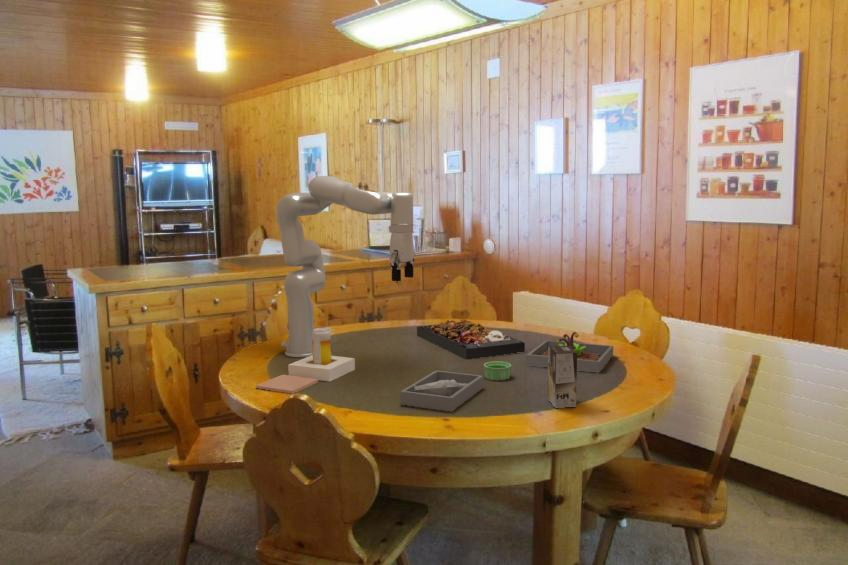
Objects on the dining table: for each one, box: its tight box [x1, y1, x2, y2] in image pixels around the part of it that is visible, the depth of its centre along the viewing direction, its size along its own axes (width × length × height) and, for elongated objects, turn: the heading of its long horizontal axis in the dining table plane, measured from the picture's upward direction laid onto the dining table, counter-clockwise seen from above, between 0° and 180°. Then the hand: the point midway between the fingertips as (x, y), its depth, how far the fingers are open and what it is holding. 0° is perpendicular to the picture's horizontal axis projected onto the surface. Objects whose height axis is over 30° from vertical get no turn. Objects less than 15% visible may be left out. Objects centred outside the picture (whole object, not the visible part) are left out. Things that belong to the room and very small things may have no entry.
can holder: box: [287, 355, 356, 382], centre depth 238 cm, size 16×16×4 cm
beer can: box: [312, 327, 332, 365], centre depth 238 cm, size 6×6×15 cm
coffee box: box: [547, 346, 578, 409], centre depth 202 cm, size 9×6×16 cm
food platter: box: [416, 318, 526, 360], centre depth 280 cm, size 45×25×10 cm, turn 24°
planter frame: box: [525, 339, 614, 374], centre depth 251 cm, size 25×25×4 cm
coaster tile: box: [255, 374, 319, 395], centre depth 224 cm, size 14×14×1 cm
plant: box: [541, 331, 601, 361], centre depth 250 cm, size 20×20×11 cm
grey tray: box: [399, 370, 484, 413], centre depth 211 cm, size 16×25×4 cm, turn 155°
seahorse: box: [412, 380, 467, 397], centre depth 211 cm, size 5×12×20 cm
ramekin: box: [483, 360, 512, 382], centre depth 231 cm, size 9×9×4 cm
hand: (402, 279), depth 242 cm, fingers open, 9 cm apart
